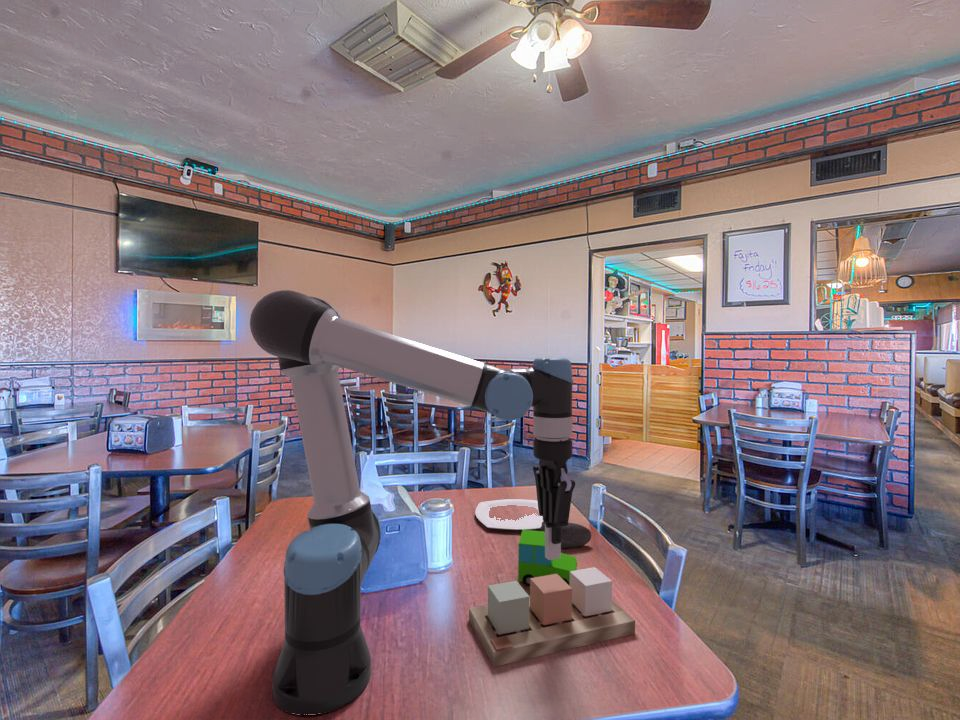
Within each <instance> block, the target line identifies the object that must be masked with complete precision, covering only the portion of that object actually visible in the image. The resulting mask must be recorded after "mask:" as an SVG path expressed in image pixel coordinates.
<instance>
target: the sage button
mask: <svg viewBox="0 0 960 720" xmlns="http://www.w3.org/2000/svg"><path fill="white" fill-rule="evenodd" d="M529 597H530V594H528V593H527V592H526V590H525V589H524V588H523V587H522V586H521V584H520V583H519V581H517V580H512V581H507V582H501V583H495V584H489V585H488V586H487V604H488V618H489V619H490V621H491V623H492V624H493V626H494V627H493V628H494V630H495V631H496V632H497V634H498V635H499V636H501V635H504V634H505V635H506V634H509V633H514V632H520V631H523V630H524V629H529Z"/></svg>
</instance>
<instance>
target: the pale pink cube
mask: <svg viewBox="0 0 960 720" xmlns="http://www.w3.org/2000/svg"><path fill="white" fill-rule="evenodd" d="M570 587H571V588H572V603H573V604H574V605H575V606H576V607H577V608H578V609H577V610H578V612H580V613H581V614H582V615H583V616H584V617H589V616H590V617H591V616H593V615H598V614H603V613H604V612H609V611H612V601H613V595H612V594H613V580H612V579H610V578H609V577H608V576H606V575H605V574H604V573H603V572H602V571H600V570H599V569H598V568H596V567H595V566H593V567H588V568H581V569H577V570H575V571H570Z"/></svg>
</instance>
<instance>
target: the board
mask: <svg viewBox="0 0 960 720" xmlns="http://www.w3.org/2000/svg"><path fill="white" fill-rule="evenodd" d="M578 610H579V609H578V608H577V607H576V606H575V605H574V604H573V603H572V619H571V620H566V621H563V622H564V623H559V624H555V625H550V626H545V627H543V626H542V625H541V624H540V623H539V621H538V620H537V619H538V618H537V616H536V615H535V614H534V612H533V611H532V610H531V609H530V597H529V629H524V630H522V631H523V632H522V631H521V632H517V633H513V634H509V635H508V634H507V635H502V636H501V635H500V636H498V637H497V635H496V633H495V632H494V630H493V628H495V627H494V626H493V624H492V623H491V621H490V619H489V618H488V603H487V604H481V605H477V606H471V607H468V621H469V623H470V625H471V626H472V628H473V631H474V632H475V634H476V636H477V638H478V640H479V642H480V644H481V646H482V648H483V649H484V651H485V653H486V655H487V657H488V658H489V661H490V662H491V665H492V667H495V668H496V667H499V666H502V665H508V664H511V663H515V662H516V663H517V662H519V661H526V660H529V659H533V658H537V657H542V656H546V655H550V654H554V653H558V652H563V651H566V650H570V649H576V648H578V647H579V648H580V647H583V646H587V645H588V646H589V645H592V644H596V643H600V642H605V641H609V640H612V639H618V638H621V637H627V636H630V635H634V634H636V619H634V618H633V617H632V616H630V614H629V613H627V612H626V611H625V610H624V608H623V609H622V607H620V606H619V605H618V604H617V602H614V601H613V600H612V611H609V612H604V613H602V614H601V615H598V616H592V617H591V616H590V617H587V618H584V617H583V616H582V615H581V614H580V613H579V611H578ZM536 618H537V619H536Z"/></svg>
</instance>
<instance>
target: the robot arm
mask: <svg viewBox="0 0 960 720" xmlns="http://www.w3.org/2000/svg"><path fill="white" fill-rule="evenodd" d="M249 317H250V318H249V319H250V320H249V328H250V332H251V334H252V335H251V336H252V337H253V339H254V341H255V342H256V344H257V345H258V346H259V347H260V349H262V350H263V351H264V352H266V353H267V354H269V355H271V356H273V357H277V360H278V367H279V371H280V373H281V374H283V375H285V376H286V377H287V378H289V380H290V382H291V387H292V393H293V397H294V402H295V403H294V404H295V408H296V413H297V417H298V418H297V419H298V423H299V428H300V433H301V434H300V435H301V438H302V445H303V450H304V456H305V460H306V461H305V462H306V467H307V472H308V476H309V482H310V489H311V492H312V493H311V494H312V498H313V504H312V505H311V507H310V509H309V510H308V512H307V520H308V525H309V530H304V531H302V532H301V533H299V534H298V535H297V536H295V537H294V538H293V539H292V540H291V541H290V543H289V544H288V546H287V548H286V551H285V559H284V562H283V563H284V564H283V565H284V566H283V569H282V571H283V577H284V642H283V644H282V647H281V650H280V653H279V657H278V659H277V662H276V666H275V668H274V672H273V674H272V698H274V699H273V701H274V703H275V704H277V705H278V706H279V707H280V708H281V709H280V708H279V707H278V706H277V705H276V706H277V707H278V708H279V709H280V710H282V711H283V710H284V711H283V712H285V711H287V712H289V713H288V714H290V713H295V714H300V715H304V714H305V715H306V714H307V715H308V714H318V713H325V712H328V713H330V712H329V711H331V712H333V711H332V710H334V711H336V710H335V709H337V708H339V709H340V707H341V708H342V706H343V707H344V705H345V704H346V705H348V704H350V703H351V702H353V701H354V700H355V699H356V698H358V697H359V695H361V693H363V691H364V690H365V689H366V687H367V685H368V683H369V682H370V679H371V676H372V675H371V674H372V656H371V652H370V649H369V645H368V643H367V641H366V638H365V635H364V632H363V629H362V626H361V601H362V600H361V597H362V596H361V591H362V590H361V589H362V582H363V580H364V578H365V576H366V574H367V572H368V569H369V567H370V566H371V563H372V561H373V559H374V558H375V555H376V553H378V550H379V546H380V544H381V538H382V536H381V535H382V526H381V522H380V519H379V516H378V515H377V513H376V512H375V511H374V510H373V508H372V505H371V499H370V496H369V495H368V494H366V493H364V492H363V491H361V489H360V484H359V483H360V482H359V478H358V473H357V467H356V463H355V462H356V461H355V455H354V451H353V446H352V441H351V435H350V429H349V425H348V424H349V423H348V420H347V419H348V418H347V415H346V414H347V413H346V407H345V402H344V397H343V391H342V387H341V382H340V374H339V371H340V369H341V368H344V369H346V370H350V371H353V372H357V373H360V374H363V375H366V376H370V377H373V378H376V379H379V380H382V381H386V382H388V383H392V384H396V385H400V386H403V387H405V388H409V389H412V390H415V391H419V392H422V393H426V394H428V395H432V396H435V397H438V398H442V399H445V400H448V401H452V402H455V403H458V404H462V405H465V406H467V407H471V408H474V409H476V410H480V411H483V412H485V413H486V412H487V413H490V414H491V415H493V416H494V417H495V418H498V419H500V420H503V421H509V422H510V421H515V420H516V421H517V420H520V418H523V417H524V416H525V415H527V413H528V412H529V411H530V410H531V408H532V409H533V411H532V412H533V415H532V433H533V434H532V435H533V436H534V438H533V440H532V441H533V442H532V443H533V445H532V446H533V447H532V448H533V450H532V451H533V452H532V453H533V456H534V458H536V459H537V460H538V465H533V466H532V471H533V475H534V480H535V489H536V490H535V491H536V500H537V501H538V511H539V515H540V516H543V521H544V523H545V557H546V558H547V559H548V560H552V559H558V558H561V553H562V548H561V527H563V526H568V523H569V519H570V513H571V512H570V510H571V504H572V497H573V492H574V489H575V487H576V481H575V480H574V479H570V478H569V476H568V473H569V472H568V471H569V470H568V466H567V461H568V460H571V459H572V458H573V439H572V438H570V437H572V436H573V422H574V421H573V384H574V381H573V368H572V367H573V366H572V362H571V361H570V359H568V358H564V357H563V358H562V357H554V358H553V357H543V358H542V357H541V358H540V357H537V358H534V360H533V362H532V367H528V368H501V367H498V366H494V365H491V364H487V363H485V362H481V361H478V360H475V359H472V358H469V357H465V356H462V355H459V354H456V353H453V352H449V351H448V350H443V349H440V348H436V347H433V346H430V345H428V344H424V343H420V342H418V341H415V340H412V339H408V338H406V337H405V338H404V337H402V336H399V335H394V334H392V333H389V332H386V331H383V330H379V329H376V328H373V327H369V326H366V325H364V324H360V323H357V322H354V321H350V320H348V319H344V318H342V317H341V314H339V312H338V311H337V310H336V309H335V308H334V307H333V306H332V305H331V304H330V303H328V302H326V300H324V299H321V298H318V297H314V296H309V295H306V294H304V293H302V292H298V291H295V290H288V289H287V290H283V289H282V290H278V291H277V290H276V291H273V292H270V293H268V294H266V295H265V296H263V297H262V298H261V299H260V300H258V301H257V303H256V304H255V305H254V307H253V309H252V311H251V313H250V316H249ZM349 702H350V703H349ZM347 703H348V704H347ZM346 705H345V706H346ZM337 710H338V709H337ZM287 712H286V713H287ZM325 714H326V713H325Z"/></svg>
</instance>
